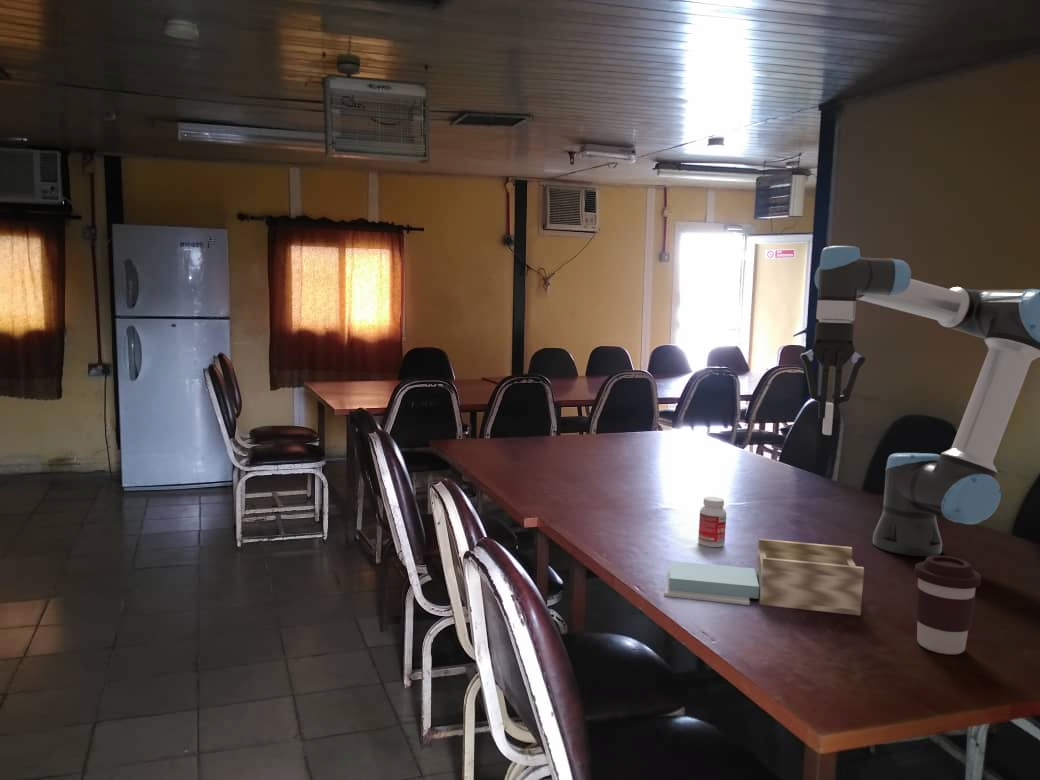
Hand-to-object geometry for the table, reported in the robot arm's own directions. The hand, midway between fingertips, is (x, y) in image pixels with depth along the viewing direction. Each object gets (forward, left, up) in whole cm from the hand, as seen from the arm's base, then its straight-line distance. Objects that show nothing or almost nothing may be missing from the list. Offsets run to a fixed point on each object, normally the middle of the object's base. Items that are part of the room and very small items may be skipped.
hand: (826, 433), depth 173 cm
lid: (+22, +16, -30) cm, 40 cm away
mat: (+23, +16, -30) cm, 41 cm away
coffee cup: (-16, +34, -31) cm, 48 cm away
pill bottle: (+22, -15, -31) cm, 41 cm away
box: (+4, +16, -30) cm, 35 cm away
